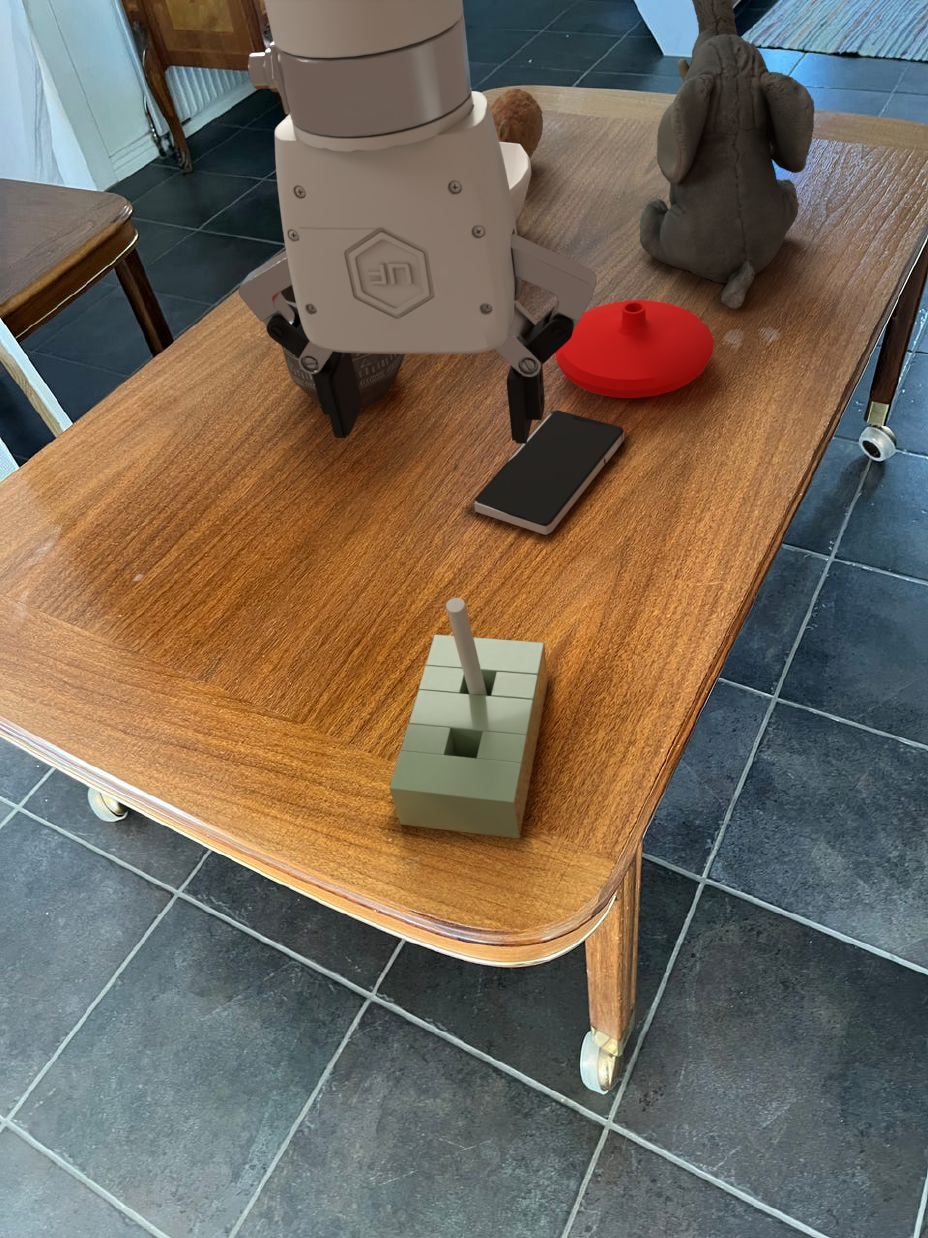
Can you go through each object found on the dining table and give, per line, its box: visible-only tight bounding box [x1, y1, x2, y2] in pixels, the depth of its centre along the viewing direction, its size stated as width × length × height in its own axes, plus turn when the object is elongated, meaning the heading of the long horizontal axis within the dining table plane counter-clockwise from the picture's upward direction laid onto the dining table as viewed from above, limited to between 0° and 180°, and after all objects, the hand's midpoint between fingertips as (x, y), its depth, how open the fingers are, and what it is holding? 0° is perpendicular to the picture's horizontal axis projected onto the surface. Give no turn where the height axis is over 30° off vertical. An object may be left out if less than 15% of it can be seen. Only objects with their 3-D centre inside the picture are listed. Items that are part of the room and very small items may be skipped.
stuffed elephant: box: [639, 0, 815, 310], centre depth 103 cm, size 19×21×27 cm
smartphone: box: [473, 409, 625, 535], centre depth 88 cm, size 8×1×15 cm
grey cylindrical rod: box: [445, 597, 487, 696], centre depth 65 cm, size 1×1×14 cm
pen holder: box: [388, 633, 549, 839], centre depth 67 cm, size 13×8×4 cm, turn 169°
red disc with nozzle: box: [554, 299, 715, 399], centre depth 96 cm, size 16×16×7 cm
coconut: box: [489, 88, 544, 160], centre depth 131 cm, size 10×13×10 cm
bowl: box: [499, 142, 532, 231], centre depth 118 cm, size 18×18×9 cm
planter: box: [281, 285, 405, 409], centre depth 98 cm, size 12×12×13 cm
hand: (435, 425), depth 51 cm, fingers open, 9 cm apart
